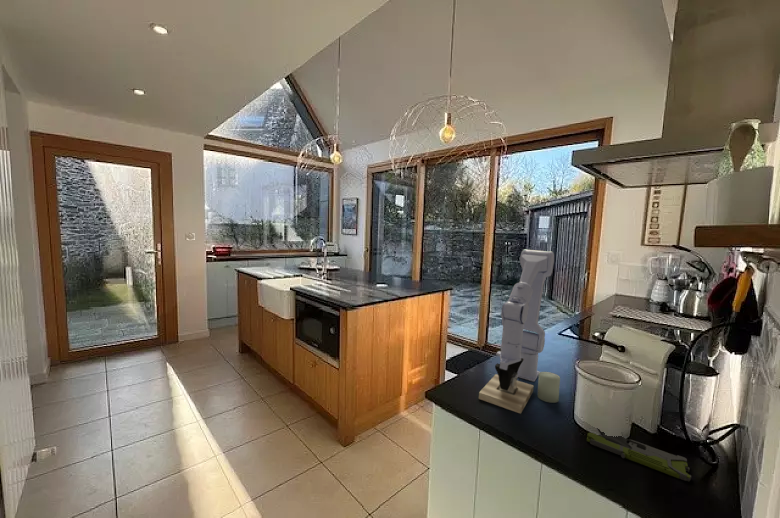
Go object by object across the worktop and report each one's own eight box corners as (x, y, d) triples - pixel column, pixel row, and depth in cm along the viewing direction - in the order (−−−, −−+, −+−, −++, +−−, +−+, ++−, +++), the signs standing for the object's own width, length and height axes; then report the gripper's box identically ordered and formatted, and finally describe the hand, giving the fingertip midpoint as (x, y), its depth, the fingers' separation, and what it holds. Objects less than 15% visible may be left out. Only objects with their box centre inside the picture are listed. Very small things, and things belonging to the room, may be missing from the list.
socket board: (495, 379, 110) (495, 374, 110) (533, 391, 104) (533, 385, 103) (478, 398, 97) (479, 392, 97) (520, 413, 90) (521, 406, 90)
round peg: (538, 391, 104) (539, 370, 103) (558, 396, 101) (560, 374, 101) (536, 399, 99) (538, 376, 98) (558, 404, 96) (559, 381, 95)
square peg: (502, 390, 103) (504, 369, 102) (515, 395, 101) (517, 373, 100) (498, 395, 100) (500, 373, 99) (512, 400, 98) (514, 377, 97)
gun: (682, 450, 79) (691, 489, 68) (591, 418, 91) (585, 447, 79) (684, 440, 79) (693, 478, 67) (593, 410, 90) (586, 437, 78)
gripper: (505, 332, 107) (501, 372, 108) (490, 344, 95) (487, 389, 96) (527, 337, 103) (523, 379, 104) (516, 350, 91) (511, 397, 92)
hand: (507, 384), depth 100 cm, fingers open, 7 cm apart
